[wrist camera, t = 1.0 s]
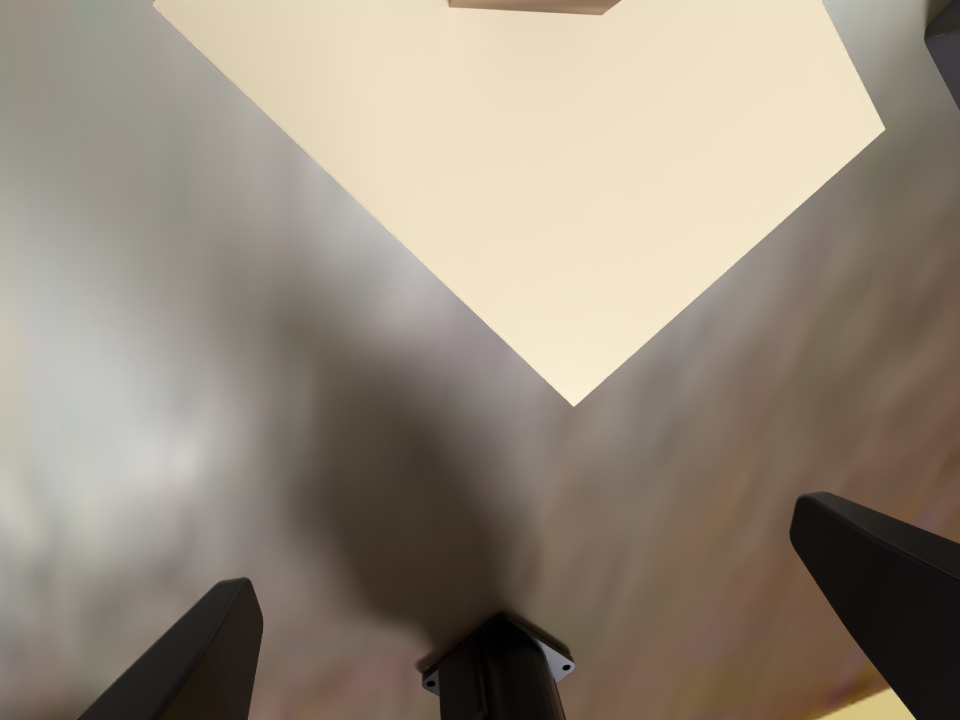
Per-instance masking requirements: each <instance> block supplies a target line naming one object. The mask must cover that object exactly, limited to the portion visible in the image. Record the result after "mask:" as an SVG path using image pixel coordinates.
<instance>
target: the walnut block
mask: <svg viewBox="0 0 960 720" xmlns="http://www.w3.org/2000/svg"><path fill="white" fill-rule="evenodd" d="M449 1H450V7H451V8H470V9H490V10H509V11H528V12H547V13H566V14H585V15H603V14H604V13H606V12H607V11H608V10H609V9H611V8H612V7H613V6H615V5H616V4H617V3H619V2H620V1H621V0H449Z"/></svg>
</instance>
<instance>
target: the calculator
mask: <svg viewBox="0 0 960 720" xmlns="http://www.w3.org/2000/svg"><path fill="white" fill-rule="evenodd" d="M924 40H925V44H926V46H927V48H928V50H929V52H930V54H931V56H932V58H933V60H934V62H935V64H936V66H937V68H938V70H939V71H940V73H941V75H942V77H943V79H944V81H945V83H946V85H947V87H948V89H949V91H950V93H951V95H952V97H953V98H954V100H955V102H956V104H957V106H958V108H959V110H960V0H953V1H952V2H951V3H950V4H949V5H948V6H947V7H946V8H945V9H944V10H943V11H942V12H941V13H940V14H939V15H938V16H937V17H936V18H935V19H934V20H933V21H932V22H931V24H930V25H929V26H928V28H927V30H926V32H925V37H924Z"/></svg>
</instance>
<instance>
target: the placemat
mask: <svg viewBox="0 0 960 720" xmlns="http://www.w3.org/2000/svg"><path fill="white" fill-rule="evenodd" d="M152 6H153V7H154V8H155V9H156V10H157V11H159V12H160V13H161V14H162V15H163V16H164V17H165V18H166V19H167V20H168V21H169V22H170V23H171V24H172V25H173V26H174V27H175V28H176V29H177V30H178V31H180V32H181V33H182V34H183V35H184V36H185V37H186V38H187V39H188V40H189V41H190V42H191V43H192V44H193V45H194V46H195V47H196V48H197V49H198V50H199V51H201V52H202V53H203V54H204V55H205V56H206V57H207V58H208V59H209V60H210V61H211V62H212V63H213V64H214V65H215V66H216V67H217V68H218V69H219V70H221V71H222V72H223V73H224V74H225V75H226V76H227V77H228V78H229V79H230V80H231V81H232V82H233V83H234V84H235V85H236V86H237V87H238V88H239V89H240V90H242V91H243V92H244V93H245V94H246V95H247V96H248V97H249V98H250V99H251V100H252V101H253V102H254V103H255V104H256V105H257V106H258V107H259V108H260V109H261V110H263V111H264V112H265V113H266V114H267V115H268V116H269V117H270V118H271V119H272V120H273V121H274V122H275V123H276V124H277V125H278V126H279V127H280V128H281V129H282V130H284V131H285V132H286V133H287V134H288V135H289V136H290V137H291V138H292V139H293V140H294V141H295V142H296V143H297V144H298V145H299V146H300V147H301V148H302V149H304V150H305V151H306V152H307V153H308V154H309V155H310V156H311V157H312V158H313V159H314V160H315V161H316V162H317V163H318V164H319V165H320V166H321V167H322V168H323V169H325V170H326V171H327V172H328V173H329V174H330V175H331V176H332V177H333V178H334V179H335V180H336V181H337V182H338V183H339V184H340V185H341V186H342V187H343V188H344V189H346V190H347V191H348V192H349V193H350V194H351V195H352V196H353V197H354V198H355V199H356V200H357V201H358V202H359V203H360V204H361V205H362V206H363V207H364V208H366V209H367V210H368V211H369V212H370V213H371V214H372V215H373V216H374V217H375V218H376V219H377V220H378V221H379V222H380V223H381V224H382V225H383V226H384V227H385V228H387V229H388V230H389V231H390V232H391V233H392V234H393V235H394V236H395V237H396V238H397V239H398V240H399V241H400V242H401V243H402V244H403V245H404V246H405V247H406V248H408V249H409V250H410V251H411V252H412V253H413V254H414V255H415V256H416V257H417V258H418V259H419V260H420V261H421V262H422V263H423V264H424V265H425V266H426V267H427V268H429V269H430V270H431V271H432V272H433V273H434V274H435V275H436V276H437V277H438V278H439V279H440V280H441V281H442V282H443V283H444V284H445V285H446V286H447V287H449V288H450V289H451V290H452V291H453V292H454V293H455V294H456V295H457V296H458V297H459V298H460V299H461V300H462V301H463V302H464V303H465V304H466V305H467V306H468V307H470V308H471V309H472V310H473V311H474V312H475V313H476V314H477V315H478V316H479V317H480V318H481V319H482V320H483V321H484V322H485V323H486V324H487V325H488V326H489V327H491V328H492V329H493V330H494V331H495V332H496V333H497V334H498V335H499V336H500V337H501V338H502V339H503V340H504V341H505V342H506V343H507V344H508V345H509V346H510V347H512V348H513V349H514V350H515V351H516V352H517V353H518V354H519V355H520V356H521V357H522V358H523V359H524V360H525V361H526V362H527V363H528V364H529V365H530V366H532V367H533V368H534V369H535V370H536V371H537V372H538V373H539V374H540V375H541V376H542V377H543V378H544V379H545V380H546V381H547V382H548V383H549V384H550V385H551V386H553V387H554V388H555V389H556V390H557V391H558V392H559V393H560V394H561V395H562V396H563V397H564V398H565V399H566V400H567V401H568V402H569V403H570V404H571V405H572V406H575V405H576V404H578V403H579V402H580V401H581V400H582V399H583V398H584V397H585V396H587V395H588V394H589V393H590V392H591V391H592V390H593V389H594V388H596V387H597V386H598V385H599V384H600V383H601V382H602V381H603V380H604V379H606V378H607V377H608V376H609V375H610V374H611V373H612V372H613V371H615V370H616V369H617V368H618V367H619V366H620V365H621V364H622V363H624V362H625V361H626V360H627V359H628V358H629V357H630V356H631V355H633V354H634V353H635V352H636V351H637V350H638V349H639V348H640V347H642V346H643V345H644V344H645V343H646V342H647V341H648V340H649V339H650V338H652V337H653V336H654V335H655V334H656V333H657V332H658V331H659V330H661V329H662V328H663V327H664V326H665V325H666V324H667V323H668V322H670V321H671V320H672V319H673V318H674V317H675V316H676V315H677V314H679V313H680V312H681V311H682V310H683V309H684V308H685V307H686V306H688V305H689V304H690V303H691V302H692V301H693V300H694V299H695V298H697V297H698V296H699V295H700V294H701V293H702V292H703V291H704V290H705V289H707V288H708V287H709V286H710V285H711V284H712V283H713V282H714V281H716V280H717V279H718V278H719V277H720V276H721V275H722V274H723V273H725V272H726V271H727V270H728V269H729V268H730V267H731V266H732V265H734V264H735V263H736V262H737V261H738V260H739V259H740V258H741V257H743V256H744V255H745V254H746V253H747V252H748V251H749V250H750V249H751V248H753V247H754V246H755V245H756V244H757V243H758V242H759V241H760V240H762V239H763V238H764V237H765V236H766V235H767V234H768V233H769V232H771V231H772V230H773V229H774V228H775V227H776V226H777V225H778V224H780V223H781V222H782V221H783V220H784V219H785V218H786V217H787V216H789V215H790V214H791V213H792V212H793V211H794V210H795V209H796V208H797V207H799V206H800V205H801V204H802V203H803V202H804V201H805V200H806V199H808V198H809V197H810V196H811V195H812V194H813V193H814V192H815V191H817V190H818V189H819V188H820V187H821V186H822V185H823V184H824V183H826V182H827V181H828V180H829V179H830V178H831V177H832V176H833V175H835V174H836V173H837V172H838V171H839V170H840V169H841V168H842V167H843V166H845V165H846V164H847V163H848V162H849V161H850V160H851V159H852V158H854V157H855V156H856V155H857V154H858V153H859V152H860V151H861V150H863V149H864V148H865V147H866V146H867V145H868V144H869V143H870V142H872V141H873V140H874V139H875V138H876V137H877V136H878V135H879V134H881V133H882V132H883V131H884V130H885V127H884V125H883V123H882V121H881V119H880V117H879V115H878V113H877V111H876V109H875V107H874V105H873V103H872V101H871V99H870V97H869V95H868V93H867V91H866V89H865V87H864V85H863V83H862V81H861V79H860V77H859V75H858V73H857V71H856V69H855V67H854V65H853V63H852V61H851V59H850V57H849V55H848V53H847V51H846V49H845V47H844V45H843V43H842V41H841V39H840V37H839V35H838V33H837V31H836V29H835V27H834V25H833V23H832V21H831V19H830V17H829V15H828V13H827V11H826V9H825V7H824V5H823V3H822V1H821V0H621V1H620V2H619V3H617V4H616V5H615V6H613V7H612V8H611V9H609V10H608V11H607V12H606V13H604V14H603V15H585V14H566V13H547V12H528V11H509V10H490V9H470V8H451V7H450V1H449V0H155V1H154V3H153V4H152Z"/></svg>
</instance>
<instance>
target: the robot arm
mask: <svg viewBox="0 0 960 720" xmlns="http://www.w3.org/2000/svg"><path fill="white" fill-rule="evenodd" d="M789 535H790V540H791V543H792V545H793V547H794V549H795V551H796V552H797V554H798V555H799V557H800V558H801V560H802V561H803V563H804V565H805V566H806V568H807V569H808V571H809V572H810V574H811V575H812V577H813V578H814V580H815V581H816V583H817V584H818V586H819V588H820V589H821V591H822V592H823V594H824V595H825V597H826V598H827V600H828V601H829V603H830V604H831V606H832V608H833V609H834V611H835V612H836V614H837V615H838V617H839V618H840V620H841V621H842V623H843V624H844V626H845V627H846V629H847V630H848V631H849V633H850V634H851V636H852V637H853V638H854V640H855V641H856V642H857V644H858V645H859V646H860V648H861V649H862V650H863V652H864V653H865V654H866V656H867V657H868V658H869V660H870V661H871V662H872V663H873V665H874V666H875V667H876V669H877V670H878V671H879V672H880V674H881V675H882V676H883V678H884V679H885V680H886V681H887V683H888V684H889V685H890V687H891V688H892V689H893V690H894V692H895V693H896V694H897V696H898V697H899V698H900V699H901V701H902V702H903V703H904V705H905V706H906V707H907V708H908V710H909V711H910V712H911V714H912V715H913V716H914V717H915V719H916V720H960V544H959V543H956V542H954V541H951V540H949V539H946V538H943V537H941V536H938V535H936V534H933V533H931V532H928V531H926V530H923V529H921V528H918V527H915V526H913V525H910V524H908V523H905V522H903V521H900V520H898V519H895V518H892V517H890V516H887V515H885V514H882V513H880V512H877V511H875V510H872V509H870V508H867V507H864V506H862V505H859V504H857V503H854V502H852V501H849V500H847V499H844V498H841V497H839V496H836V495H834V494H831V493H828V492H814V493H807V494H802V495H800V496H799V497H798V499H797V500H796V504H795V508H794V513H793V517H792V522H791V526H790V531H789ZM262 633H263V616H262V612H261V609H260V606H259V603H258V600H257V597H256V594H255V591H254V588H253V585H252V583H251V581H250V580H249V579H248V578H246V577H241V578H234V579H227V580H222V581H220V582H218V583H217V584H215V585H214V586H213V587H212V588H211V589H210V590H209V591H208V592H207V593H206V594H205V595H204V596H203V597H202V598H201V599H200V600H199V601H197V602H196V603H195V604H194V605H193V606H192V607H191V608H190V609H189V610H188V611H187V612H186V613H185V614H184V615H183V616H182V617H181V618H180V619H179V620H178V621H177V622H176V623H175V624H174V625H173V626H172V627H170V628H169V629H168V630H167V631H166V632H165V633H164V634H163V635H162V636H161V637H160V638H159V639H158V640H157V641H156V642H155V643H154V644H153V645H152V646H151V647H150V648H149V649H148V650H147V651H146V652H145V653H143V654H142V655H141V656H140V657H139V658H138V659H137V660H136V661H135V662H134V663H133V664H132V665H131V666H130V667H129V668H128V669H127V670H126V671H125V672H124V673H123V674H122V675H121V676H120V677H119V678H118V679H116V680H115V681H114V682H113V683H112V684H111V685H110V686H109V687H108V688H107V689H106V690H105V691H104V692H103V693H102V694H101V695H100V696H99V697H98V698H97V699H96V700H95V701H94V702H93V703H92V704H91V705H89V706H88V707H87V708H86V709H85V710H84V711H83V712H82V713H81V714H80V715H79V716H78V717H77V718H76V719H75V720H248V715H249V709H250V703H251V697H252V691H253V686H254V680H255V674H256V668H257V662H258V657H259V651H260V645H261V639H262ZM574 668H575V664H574V661H573V658H572V657H571V656H570V655H568V654H567V653H565V652H564V651H562V650H561V649H559V648H558V647H556V646H555V645H553V644H552V643H550V642H549V641H547V640H546V639H544V638H543V637H541V636H539V635H538V634H536V633H535V632H533V631H532V630H530V629H529V628H527V627H526V626H524V625H523V624H521V623H520V622H518V621H517V620H515V619H514V618H512V617H511V616H509V615H508V614H505V613H499V614H497V615H495V616H494V617H492V618H491V619H490V620H489V621H487V622H486V623H485V624H484V625H483V626H481V627H480V628H479V629H478V630H476V631H475V632H474V633H473V634H472V635H470V636H469V637H468V638H467V639H466V640H464V641H463V642H462V643H461V644H459V645H458V646H457V647H456V648H455V649H453V650H452V651H451V652H450V653H448V654H447V655H446V656H445V657H444V658H442V659H441V660H440V661H439V662H437V663H436V664H435V665H434V666H433V667H431V668H430V669H429V670H428V671H426V672H425V673H424V674H423V675H422V686H423V688H425V689H426V690H428V691H430V692H432V693H434V694H436V695H438V696H439V697H440V715H441V720H566V718H565V714H564V710H563V707H562V703H561V700H560V696H559V692H558V689H557V685H556V683H557V682H558V681H560V680H561V679H562V678H564V677H565V676H566V675H568V674H569V673H570V672H571V671H573V670H574Z"/></svg>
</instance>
